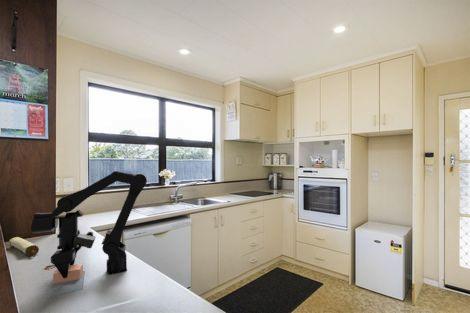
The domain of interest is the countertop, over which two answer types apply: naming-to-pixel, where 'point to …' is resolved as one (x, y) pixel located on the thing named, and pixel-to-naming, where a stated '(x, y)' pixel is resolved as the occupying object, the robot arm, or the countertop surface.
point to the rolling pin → (24, 246)
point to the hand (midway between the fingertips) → (68, 272)
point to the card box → (69, 274)
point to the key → (50, 267)
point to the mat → (65, 286)
